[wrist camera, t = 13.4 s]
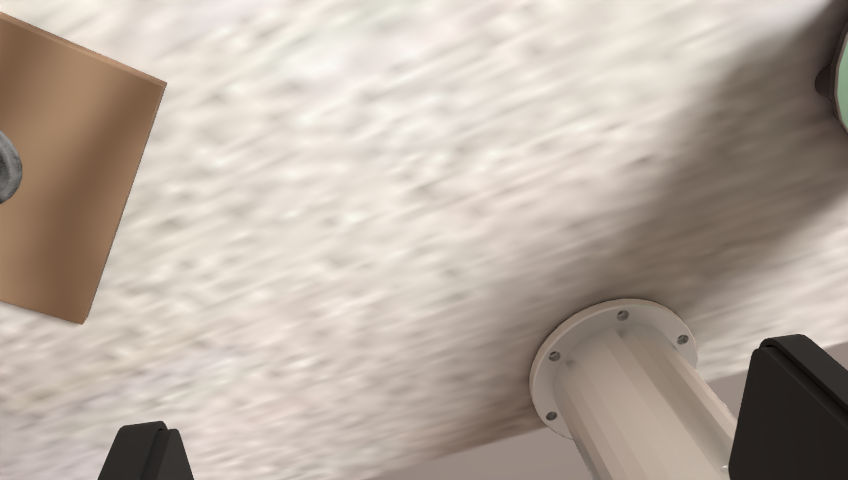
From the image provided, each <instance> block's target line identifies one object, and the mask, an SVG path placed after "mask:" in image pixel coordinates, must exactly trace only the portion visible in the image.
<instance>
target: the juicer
mask: <svg viewBox="0 0 848 480" xmlns="http://www.w3.org/2000/svg"><path fill="white" fill-rule="evenodd" d="M815 87H816V91H817V92H818V93H820V94H821V95H824V96H827V97H830V98H831V101H832V106H833V111H834V115H835V117H836V118H837V120H838V122H839V123H840V125H841V127H842V128H843V130H844V132H845V133H846V134H847V135H848V21H847V23H846V25H845V27H844V28H843V30H842V32H841V34H840V37H839V40H838V43H837V47H836V50H835V53H834V56H833V60H832V63H831V65H828V66H826V67H825V68H823V69H822V70H821V71H820V73H819V74H818V76H817V78H816V81H815Z"/></svg>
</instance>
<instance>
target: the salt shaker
mask: <svg viewBox="0 0 848 480" xmlns="http://www.w3.org/2000/svg"><path fill="white" fill-rule="evenodd" d="M21 180H22V163H21V159H20V156H19V153H18V151H17V150H16V148H15V146H14V145H13V143H12V141H11V140H10V139H9V138H8V137H7V136H6V135H5V134H4V133H3V132H2V131H1V130H0V204H2V203H3V202H5V201H6V200H8V199H9V198H11V197H12V196H13V194H14V193H15V192H16V191H17V189H18V188H19V186H20V183H21Z"/></svg>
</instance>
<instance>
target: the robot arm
mask: <svg viewBox="0 0 848 480" xmlns="http://www.w3.org/2000/svg"><path fill="white" fill-rule="evenodd" d="M696 366H697V347H696V343H695V340H694V337H693V335H692V333H691V332H690V330H689V328H688V327H687V325H686V324H685V323H684V322H683V321H682V320H681V319H680V318H679V317H678V316H677V315H676V314H675V313H674V312H672V311H671V310H670V309H668V308H667V307H665V306H663V305H660V304H658V303H655V302H653V301H648V300H642V299H617V300H611V301H606V302H603V303H600V304H597V305H594V306H591V307H588V308H586V309H584V310H582V311H580V312H578V313H577V314H575V315H573V316H572V317H570V318H569V319H567V320H566V321H565V322H563V323H562V324H560V325H559V326H558V327H557V328H556V329H555V330H554V331H553V332H552V333H551V334H550V335H549V336H548V338H547V339H546V340H545V342H544V343H543V345H542V346H541V347H540V349H539V351H538V353H537V355H536V357H535V359H534V361H533V364H532V368H531V372H530V377H529V390H530V394H531V399H532V402H533V404H534V406H535V409H536V411H537V413H538V415H539V416H540V418H541V420H542V421H543V422H544V423H545V424H546V425H547V426H548V427H549V428H550V429H552V430H553V431H554V432H556V433H558V434H560V435H561V436H563V437H566V438H569V439H572V440H574V442H575V444H576V446H577V448H578V450H579V452H580V454H581V456H582V458H583V461H584V463H585V465H586V466H587V469H588V471H589V473H590V475H591V477H592V479H593V480H848V371H847V370H846V369H845V368H844V367H843V366H842V365H840V364H839V363H838V362H837V361H835V360H834V359H833V358H832V357H831V356H829V354H827V353H826V352H825V351H824V350H823V349H821V348H820V347H819V346H818V345H817V344H816V343H814V342H813V341H812V340H811V339H810V338H808V337H806V336H805V335H801V334H795V335H787V336H780V337H773V338H767V339H764V340H763V341H762V342H761V344H760V347H759V348H758V349H755V350H754V351H753V353H752V356H751V360H750V365H749V370H748V375H747V379H746V384H745V389H744V393H743V398H742V403H741V408H740V412H739V417H738V421H737V420H736V419H735V418H734V416H733V415H732V414H731V413H730V411H729V410H728V408H727V406H726V404H725V403H723V402H721V401H720V399H719V398H718V397H717V396H716V395H715V393H714V392H713V391H712V390H711V389H710V387H709V386H708V385H707V384H706V383H705V382H704V380H703V379H702V378H701V377H700V376H699V374H698V373H697V372H696ZM98 480H194V478H193V475H192V472H191V468H190V465H189V462H188V459H187V455H186V452H185V449H184V446H183V443H182V439H181V436H180V433H179V431H178V430H177V429H169V430H168V429H167V427H166V425H165V423H164V422H163V421H156V422H148V423H141V424H134V425H126V426H123V427H121V428H120V429H119V431H118V433H117V435H116V437H115V440H114V442H113V444H112V447H111V449H110V451H109V454H108V456H107V458H106V461H105V463H104V465H103V468H102V470H101V472H100V475H99V477H98Z"/></svg>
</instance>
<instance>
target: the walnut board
mask: <svg viewBox="0 0 848 480" xmlns="http://www.w3.org/2000/svg"><path fill="white" fill-rule="evenodd" d="M166 85H167V82H164V81H162V80H159V79H157V78H155V77H152V76H150V75H148V74H145V73H143V72H141V71H138V70H136V69H134V68H131V67H129V66H127V65H124V64H122V63H119V62H117V61H115V60H112V59H110V58H108V57H105V56H103V55H101V54H98V53H96V52H94V51H91V50H89V49H87V48H84V47H82V46H80V45H77V44H75V43H72V42H70V41H68V40H65V39H63V38H61V37H58V36H56V35H54V34H51V33H49V32H47V31H44V30H42V29H40V28H37V27H35V26H33V25H30V24H28V23H25V22H23V21H21V20H18V19H16V18H14V17H11V16H9V15H7V14H4V13H2V12H0V130H1V131H2V132H3V133H4V134H5V135H6V136H7V137H8V138H9V139H10V140H11V141H12V143H13V145H14V146H15V148H16V150H17V151H18V153H19V156H20V159H21V163H22V180H21V183H20V186H19V188H18V189H17V191H16V192H15V193H14V194H13V196H12V197H11V198H9V199H8V200H6V201H5V202H3V203H2V204H0V301H4V302H7V303H10V304H14V305H17V306H21V307H24V308H27V309H31V310H34V311H38V312H41V313H44V314H48V315H51V316H55V317H58V318H61V319H65V320H68V321H72V322H75V323H78V324H82V325H83V323H84V321H85V320H86V318H87V317H88V314H89V311H90V309H91V306H92V303H93V300H94V297H95V294H96V291H97V288H98V285H99V282H100V279H101V276H102V273H103V270H104V267H105V264H106V261H107V258H108V255H109V253H110V250H111V247H112V244H113V241H114V238H115V235H116V232H117V229H118V226H119V223H120V220H121V217H122V214H123V211H124V208H125V205H126V202H127V199H128V197H129V194H130V191H131V188H132V185H133V182H134V179H135V176H136V173H137V170H138V167H139V164H140V161H141V158H142V155H143V152H144V149H145V146H146V143H147V141H148V138H149V135H150V132H151V129H152V126H153V123H154V120H155V117H156V114H157V111H158V108H159V105H160V102H161V99H162V96H163V93H164V90H165V87H166Z"/></svg>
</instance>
